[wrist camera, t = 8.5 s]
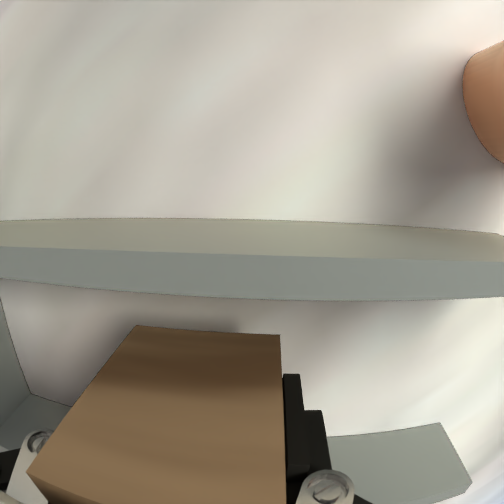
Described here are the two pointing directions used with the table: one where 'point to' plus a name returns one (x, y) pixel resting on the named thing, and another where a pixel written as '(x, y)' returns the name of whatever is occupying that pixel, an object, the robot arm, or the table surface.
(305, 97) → the table surface
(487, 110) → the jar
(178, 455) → the walnut block
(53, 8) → the table surface
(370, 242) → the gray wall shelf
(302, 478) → the robot arm
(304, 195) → the table surface
